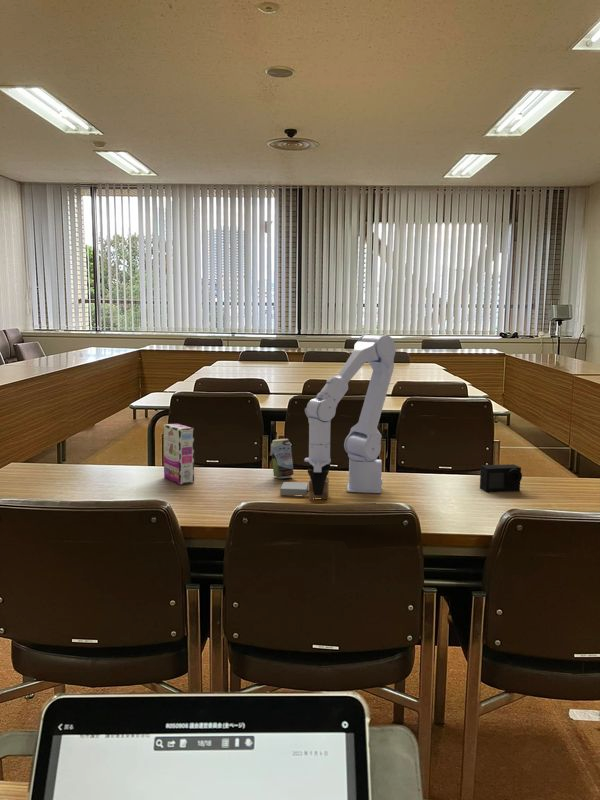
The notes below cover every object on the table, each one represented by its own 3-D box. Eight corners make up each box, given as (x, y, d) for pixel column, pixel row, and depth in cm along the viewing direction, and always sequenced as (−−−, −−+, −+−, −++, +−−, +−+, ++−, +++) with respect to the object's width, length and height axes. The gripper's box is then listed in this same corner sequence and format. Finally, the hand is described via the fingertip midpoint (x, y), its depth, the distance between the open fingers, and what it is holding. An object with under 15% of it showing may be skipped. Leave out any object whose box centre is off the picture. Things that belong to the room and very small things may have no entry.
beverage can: (285, 481, 192) (285, 442, 190) (266, 477, 196) (266, 438, 195) (298, 477, 197) (298, 438, 195) (279, 473, 201) (279, 435, 200)
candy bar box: (195, 483, 190) (194, 427, 187) (179, 485, 187) (179, 429, 184) (178, 475, 198) (177, 422, 196) (163, 477, 195) (162, 424, 193)
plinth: (308, 489, 183) (308, 482, 183) (306, 496, 176) (306, 489, 176) (283, 488, 184) (283, 482, 184) (280, 495, 177) (280, 488, 177)
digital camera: (487, 493, 182) (489, 469, 181) (479, 488, 187) (480, 465, 186) (522, 492, 183) (523, 468, 182) (512, 487, 189) (513, 463, 188)
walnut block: (328, 494, 178) (328, 477, 178) (327, 500, 173) (327, 481, 173) (310, 494, 179) (310, 476, 178) (308, 499, 174) (309, 481, 173)
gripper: (307, 437, 182) (306, 484, 184) (302, 448, 167) (301, 498, 169) (332, 438, 181) (331, 485, 183) (329, 448, 167) (328, 499, 169)
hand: (318, 492), depth 176 cm, fingers closed on walnut block, 5 cm apart
